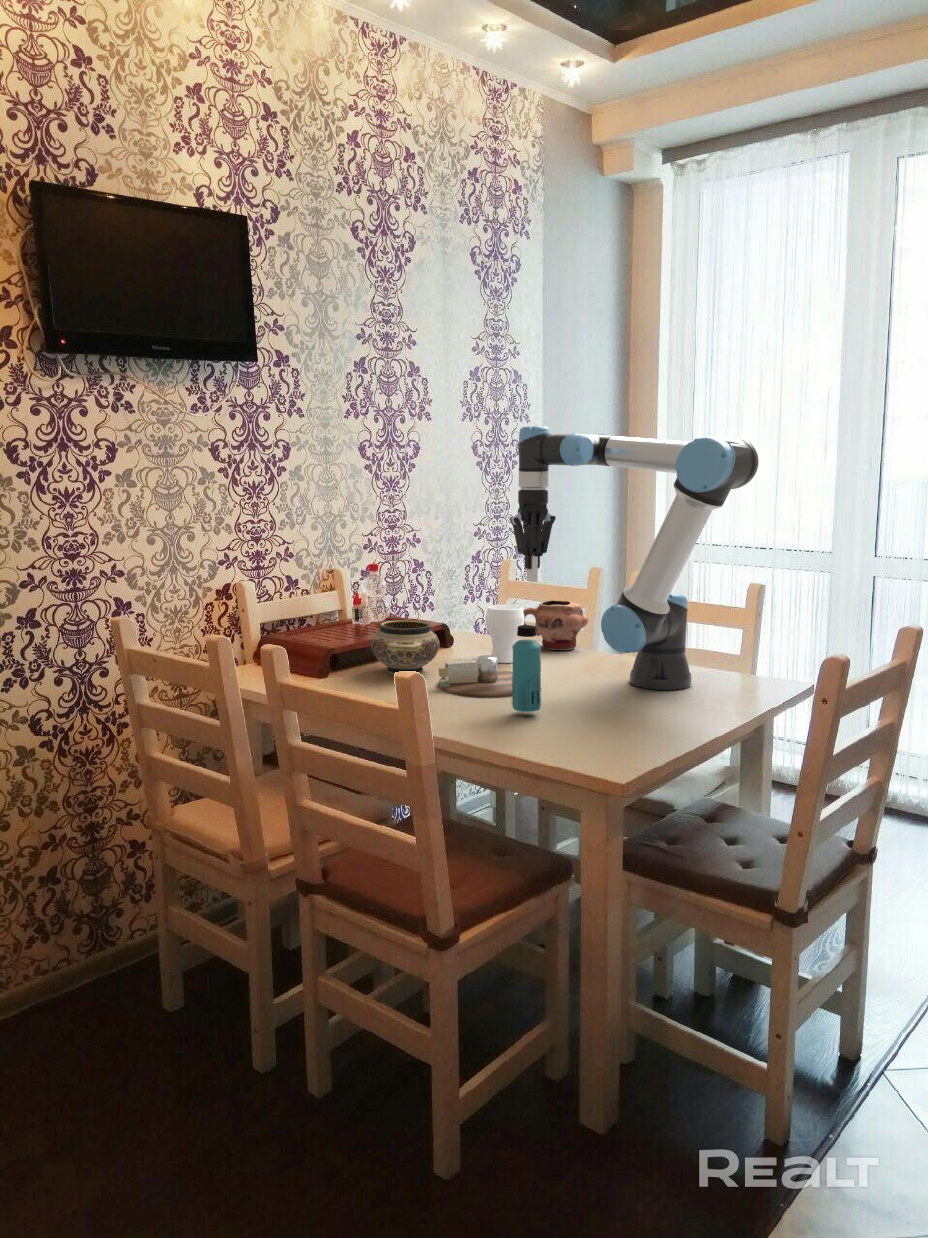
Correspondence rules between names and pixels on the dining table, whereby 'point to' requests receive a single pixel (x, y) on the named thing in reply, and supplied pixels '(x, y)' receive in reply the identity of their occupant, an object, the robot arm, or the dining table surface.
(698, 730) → the dining table surface
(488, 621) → the cup
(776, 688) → the dining table surface
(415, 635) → the ceramic bowl
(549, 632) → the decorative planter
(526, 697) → the beverage bottle
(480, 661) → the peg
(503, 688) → the round wooden board
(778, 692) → the dining table surface
